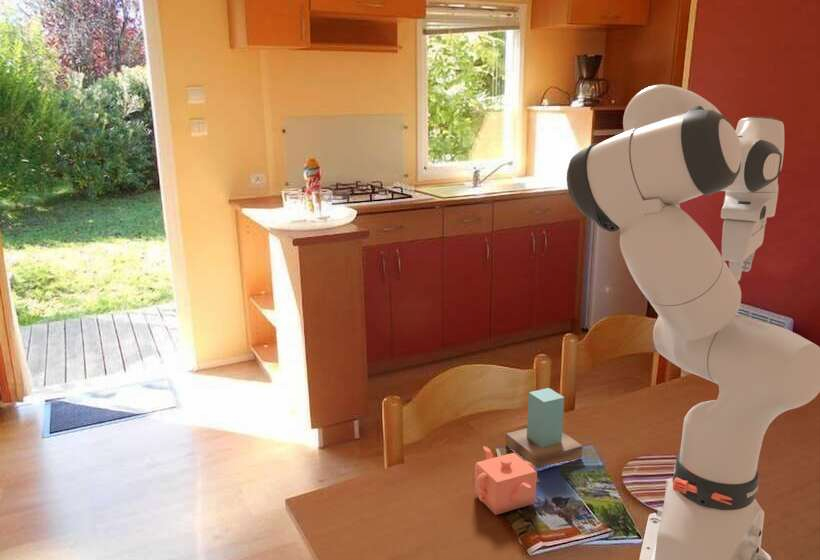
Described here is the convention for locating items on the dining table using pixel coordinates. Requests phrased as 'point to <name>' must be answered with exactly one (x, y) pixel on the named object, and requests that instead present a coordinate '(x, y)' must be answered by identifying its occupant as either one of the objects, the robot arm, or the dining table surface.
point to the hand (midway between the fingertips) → (739, 275)
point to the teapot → (505, 482)
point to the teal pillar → (545, 417)
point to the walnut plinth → (543, 449)
